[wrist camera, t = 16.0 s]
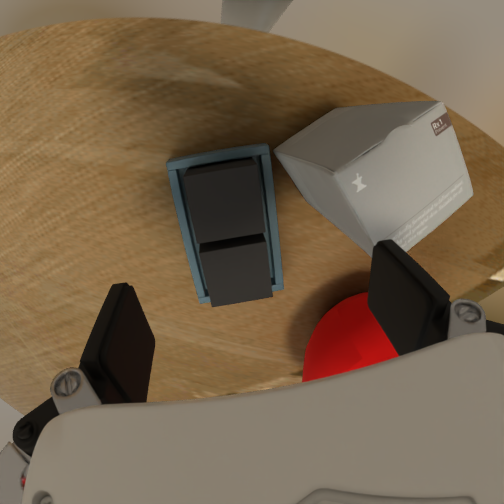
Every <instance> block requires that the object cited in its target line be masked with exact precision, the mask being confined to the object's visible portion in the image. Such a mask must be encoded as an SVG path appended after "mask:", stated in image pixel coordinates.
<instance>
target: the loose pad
mask: <svg viewBox="0 0 504 504" xmlns="http://www.w3.org/2000/svg"><path fill="white" fill-rule="evenodd" d="M183 181H184V186H185V191H186V196H187V200H188V205H189V210H190V214H191V219H192V224H193V228H194V233H195V237H196V241H197V244H200V243H206V242H211V241H217V240H223V239H229V238H235V237H241V236H247V235H253V234H259V233H265V232H266V229H265V221H264V213H263V205H262V197H261V189H260V181H259V173H258V165H257V163H256V162H255V161H254V160H253V159H252V157H248V158H242V159H235V160H229V161H223V162H217V163H211V164H205V165H200V166H195V167H189V168H187V170H186V172H185V174H184V176H183Z"/></svg>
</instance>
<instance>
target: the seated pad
mask: <svg viewBox="0 0 504 504" xmlns="http://www.w3.org/2000/svg"><path fill="white" fill-rule="evenodd" d="M199 257H200V261H201V265H202V269H203V273H204V277H205V281H206V285H207V289H208V293H209V297H210V301H211V305H212V307H216V306H222V305H229V304H235V303H241V302H246V301H252V300H258V299H263V298H269V297H273V294H272V285H271V276H270V267H269V259H268V250H267V242H266V239H265V237H264V234H263V233H259V234H253V235H247V236H241V237H235V238H229V239H223V240H217V241H211V242H206V243H200V246H199Z"/></svg>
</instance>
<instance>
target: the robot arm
mask: <svg viewBox="0 0 504 504" xmlns="http://www.w3.org/2000/svg"><path fill="white" fill-rule="evenodd" d="M449 298H450V295H449V294H448V293H447V292H446V291H445V290H444V289H443V288H442V287H441V286H440V285H439V284H438V283H437V282H436V281H435V280H434V279H433V278H432V277H431V276H430V275H429V274H428V273H427V272H426V271H425V270H424V269H423V268H422V267H421V266H420V265H419V264H418V263H417V262H416V261H415V260H414V259H413V258H411V257H410V256H409V255H408V254H407V253H406V252H405V251H404V250H403V249H402V248H401V247H400V246H399V245H398V244H396V243H395V242H394V241H393V240H392V239H388V240H382V241H378V242H377V244H376V245H375V246H374V247H373V252H372V263H371V273H370V282H369V290H368V298H367V304H368V307H369V309H370V311H371V312H372V314H373V315H374V317H375V318H376V320H377V321H378V323H379V325H380V326H381V328H382V329H383V331H384V332H385V334H386V336H387V337H388V339H389V340H390V342H391V344H392V345H393V347H394V348H395V350H396V352H397V353H398V355H399V356H398V357H395V358H392V359H389V360H386V361H383V362H380V363H376V364H373V365H369V366H366V367H363V368H359V369H355V370H352V371H348V372H344V373H340V374H336V375H332V376H328V377H324V378H320V379H316V380H311V381H307V382H302V383H297V384H293V385H288V386H282V387H277V388H272V389H266V390H260V391H254V392H247V393H240V394H233V395H226V396H218V397H209V398H200V399H189V400H177V401H162V402H146V400H147V393H148V386H149V380H150V373H151V367H152V361H153V355H154V349H155V338H154V335H153V333H152V331H151V328H150V326H149V324H148V322H147V319H146V317H145V315H144V312H143V310H142V307H141V305H140V302H139V300H138V298H137V295H136V292H135V290H134V288H133V286H129V285H128V283H119V284H113V285H112V286H111V288H110V290H109V293H108V295H107V297H106V299H105V301H104V304H103V306H102V308H101V310H100V313H99V315H98V317H97V320H96V322H95V324H94V327H93V329H92V332H91V334H90V336H89V339H88V341H87V344H86V346H85V349H84V352H83V354H82V357H81V359H80V365H79V368H74V367H71V368H66V369H64V370H62V371H61V372H59V373H58V374H57V375H56V376H55V377H54V379H53V381H52V383H51V387H50V391H51V395H52V397H51V398H49V399H48V400H46V401H45V402H44V403H42V404H41V405H40V406H38V407H37V408H35V409H34V410H33V411H31V412H30V413H28V414H27V415H26V416H24V417H23V418H21V419H20V420H19V421H18V422H17V424H16V425H15V427H14V430H13V441H14V442H13V443H11V442H8V444H7V445H6V446H5V447H4V448H3V450H2V451H1V452H0V504H504V324H500V323H496V322H493V321H489V320H486V316H485V312H484V310H483V309H482V307H481V306H480V305H479V304H478V303H476V302H474V301H472V300H469V299H458V300H456V301H454V302H453V303H451V302H450V301H449Z"/></svg>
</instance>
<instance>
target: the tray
mask: <svg viewBox="0 0 504 504" xmlns="http://www.w3.org/2000/svg"><path fill="white" fill-rule="evenodd" d="M269 153H270V150H269V145H267V144H266V143H260V144H253V145H246V146H239V147H232V148H226V149H220V150H214V151H208V152H203V153H197V154H192V155H187V156H182V157H177V158H172V159H169V160H168V161H167V162H166V166H167V170H168V176H169V181H170V185H171V190H172V195H173V199H174V204H175V208H176V212H177V217H178V221H179V225H180V229H181V234H182V238H183V242H184V246H185V250H186V254H187V258H188V262H189V265H190V269H191V273H192V277H193V280H194V284H195V288H196V291H197V295H198V299H199V302H200V304H202V303H208V302H211V301H210V297H209V293H208V289H207V285H206V281H205V277H204V273H203V269H202V265H201V261H200V257H199V246H200V244H197V241H196V237H195V233H194V228H193V224H192V219H191V214H190V210H189V205H188V200H187V196H186V191H185V186H184V181H183V176H184V174H185V172H186V170H187V168H189V167H195V166H200V165H205V164H211V163H217V162H223V161H229V160H235V159H242V158H248V157H252V159H253V160H254V161H255V162H256V163H257V165H258V173H259V181H260V189H261V197H262V205H263V213H264V221H265V229H266V232H265V233H263V234H264V237H265V239H266V242H267V250H268V259H269V267H270V276H271V285H272V292H273V291H278V290H283V289H284V285H283V273H282V262H281V252H280V241H279V231H278V221H277V212H276V202H275V193H274V184H273V175H272V166H271V158H270V154H269Z"/></svg>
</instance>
